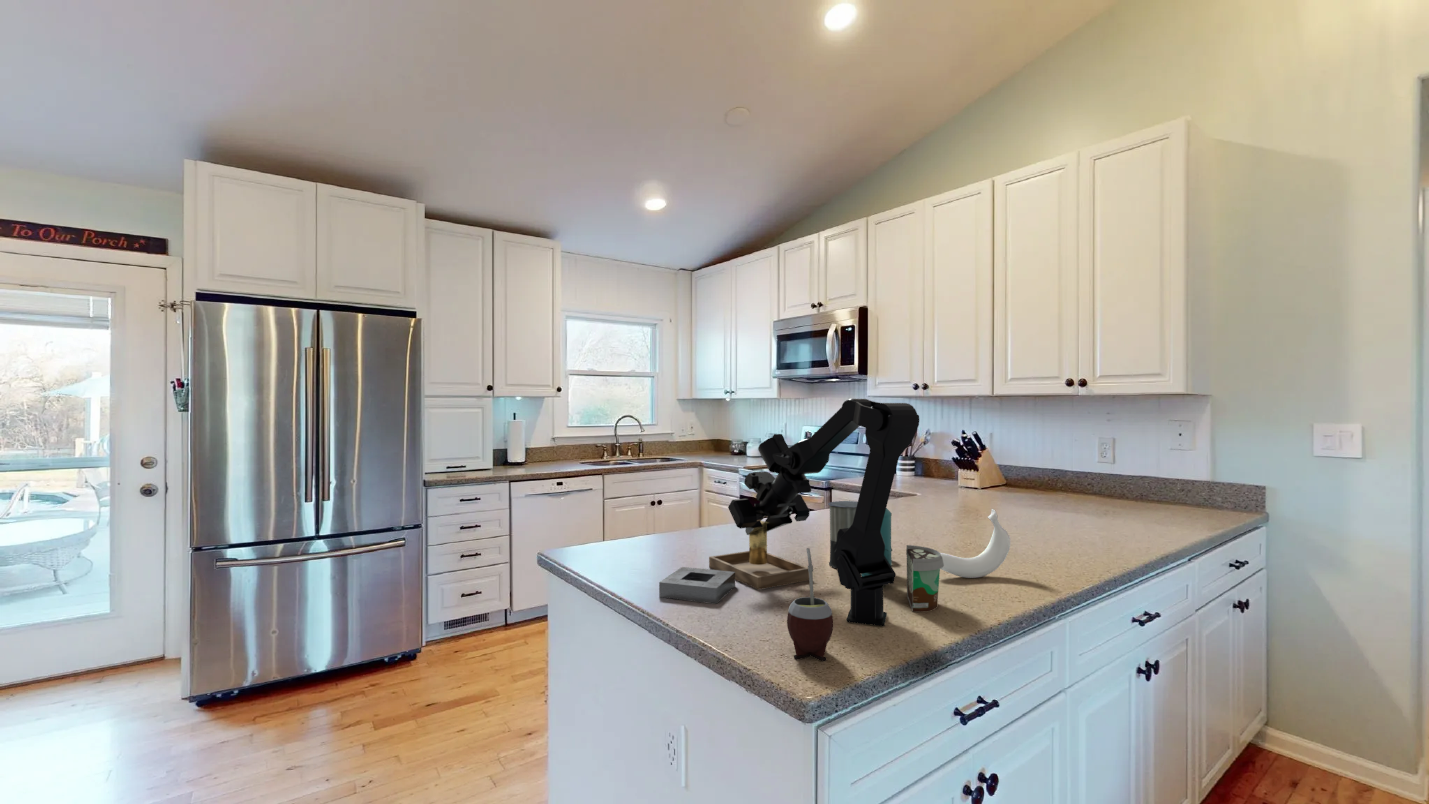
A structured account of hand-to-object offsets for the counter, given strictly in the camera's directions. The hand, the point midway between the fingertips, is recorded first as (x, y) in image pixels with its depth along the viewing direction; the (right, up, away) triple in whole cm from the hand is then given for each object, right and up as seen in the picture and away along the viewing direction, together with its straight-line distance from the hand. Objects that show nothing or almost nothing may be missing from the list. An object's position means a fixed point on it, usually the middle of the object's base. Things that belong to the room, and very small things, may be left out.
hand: (754, 532), depth 139 cm
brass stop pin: (+1, -7, -1) cm, 7 cm away
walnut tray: (+1, -9, -1) cm, 9 cm away
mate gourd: (+5, -9, -45) cm, 46 cm away
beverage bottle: (+25, -9, -11) cm, 29 cm away
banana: (+47, -9, -4) cm, 49 cm away
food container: (+31, -9, -23) cm, 40 cm away
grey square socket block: (-12, -9, -15) cm, 21 cm away
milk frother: (+26, -9, +8) cm, 29 cm away
